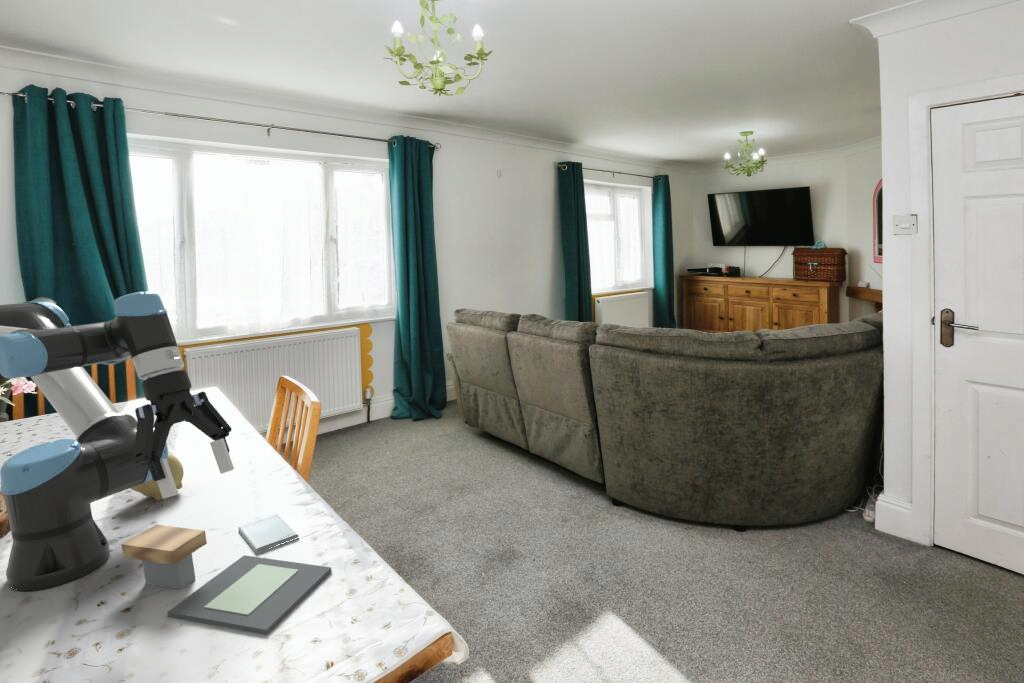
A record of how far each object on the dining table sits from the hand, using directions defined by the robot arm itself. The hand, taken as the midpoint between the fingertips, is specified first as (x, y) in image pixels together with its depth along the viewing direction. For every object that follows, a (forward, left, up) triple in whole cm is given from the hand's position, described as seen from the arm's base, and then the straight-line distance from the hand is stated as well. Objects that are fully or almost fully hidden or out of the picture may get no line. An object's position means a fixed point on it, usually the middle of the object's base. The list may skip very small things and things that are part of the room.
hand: (201, 483), depth 103 cm
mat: (+15, -7, -16) cm, 23 cm away
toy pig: (-36, +21, -16) cm, 45 cm away
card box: (-2, -7, -10) cm, 12 cm away
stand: (-2, -7, -16) cm, 17 cm away
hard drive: (+4, +11, -16) cm, 20 cm away
